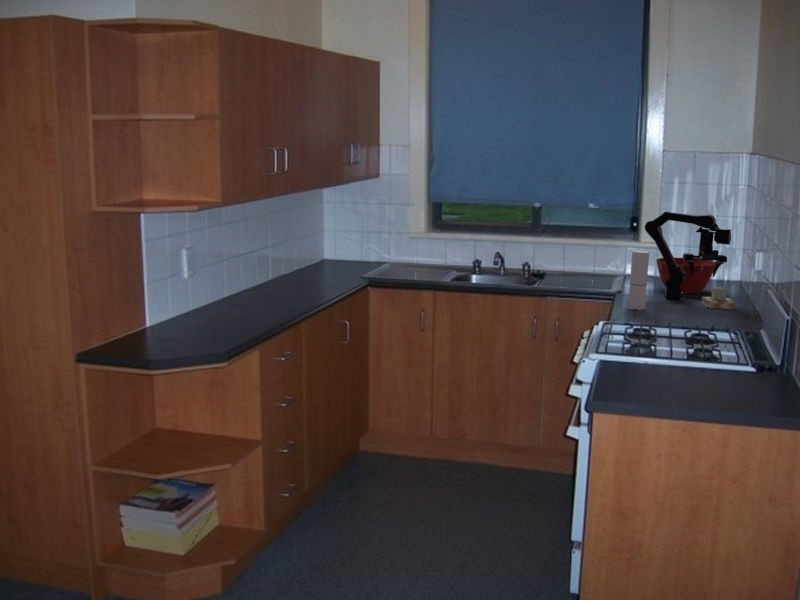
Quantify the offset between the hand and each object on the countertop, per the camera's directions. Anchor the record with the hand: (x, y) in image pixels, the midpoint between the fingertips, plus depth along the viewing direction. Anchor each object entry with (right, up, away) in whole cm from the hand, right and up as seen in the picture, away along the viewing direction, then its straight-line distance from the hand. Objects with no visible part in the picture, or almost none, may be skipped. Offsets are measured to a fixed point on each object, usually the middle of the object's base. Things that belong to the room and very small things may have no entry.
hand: (703, 276), depth 411 cm
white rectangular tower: (-35, -15, -18) cm, 42 cm away
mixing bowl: (0, -7, +30) cm, 31 cm away
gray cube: (+5, -10, -7) cm, 13 cm away
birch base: (+4, -14, -6) cm, 16 cm away
